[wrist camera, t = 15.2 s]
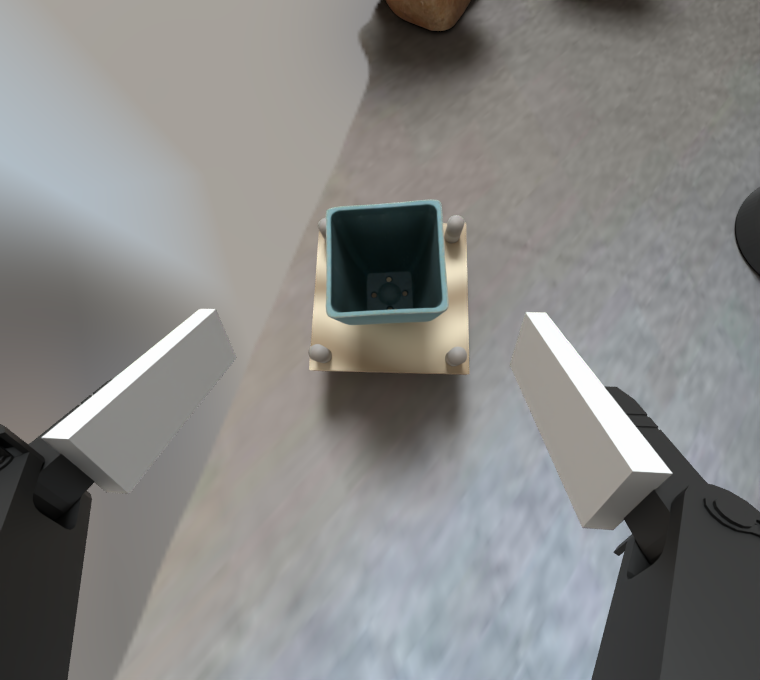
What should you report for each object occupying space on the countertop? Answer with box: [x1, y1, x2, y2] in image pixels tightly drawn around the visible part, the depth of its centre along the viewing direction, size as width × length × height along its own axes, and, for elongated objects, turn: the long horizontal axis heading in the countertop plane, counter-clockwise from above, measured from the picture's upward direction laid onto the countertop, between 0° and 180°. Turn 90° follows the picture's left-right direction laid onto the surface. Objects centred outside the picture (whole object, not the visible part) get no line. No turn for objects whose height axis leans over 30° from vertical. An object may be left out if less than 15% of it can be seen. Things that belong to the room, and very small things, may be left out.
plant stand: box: [309, 215, 469, 375], centre depth 31 cm, size 16×16×8 cm
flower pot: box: [326, 200, 449, 325], centre depth 25 cm, size 9×9×9 cm
